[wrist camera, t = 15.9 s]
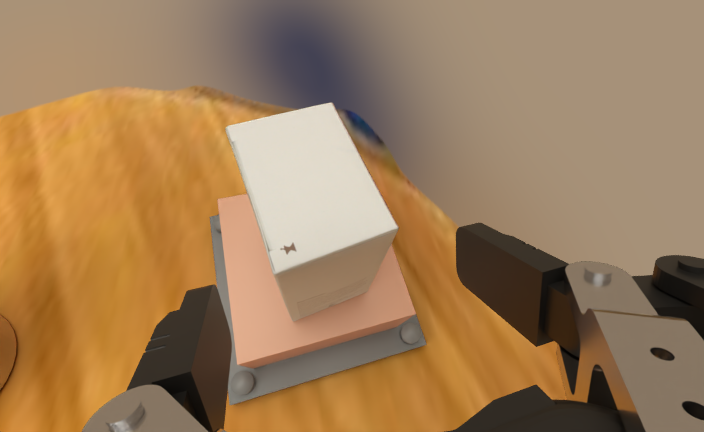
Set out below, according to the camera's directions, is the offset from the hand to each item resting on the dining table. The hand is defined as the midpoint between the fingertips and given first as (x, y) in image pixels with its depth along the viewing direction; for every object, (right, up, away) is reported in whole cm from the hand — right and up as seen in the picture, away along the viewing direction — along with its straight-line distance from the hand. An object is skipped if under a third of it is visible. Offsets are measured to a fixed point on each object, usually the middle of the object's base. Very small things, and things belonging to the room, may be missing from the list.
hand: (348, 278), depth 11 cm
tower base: (-4, -4, +20) cm, 21 cm away
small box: (-3, -1, +13) cm, 14 cm away
